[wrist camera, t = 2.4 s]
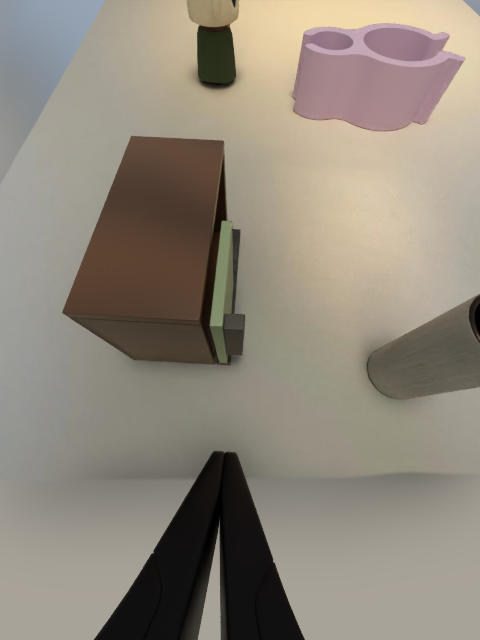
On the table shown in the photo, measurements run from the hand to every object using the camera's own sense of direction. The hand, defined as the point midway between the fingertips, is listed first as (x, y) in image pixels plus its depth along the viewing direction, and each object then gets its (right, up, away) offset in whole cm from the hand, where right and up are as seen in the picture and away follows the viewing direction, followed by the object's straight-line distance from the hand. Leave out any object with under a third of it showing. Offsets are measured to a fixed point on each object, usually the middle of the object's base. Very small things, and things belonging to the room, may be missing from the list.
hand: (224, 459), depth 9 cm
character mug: (-3, +45, +32) cm, 56 cm away
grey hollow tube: (+14, 0, +13) cm, 19 cm away
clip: (+19, +39, +30) cm, 52 cm away
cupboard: (-5, +8, +16) cm, 18 cm away
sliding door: (0, +5, +13) cm, 14 cm away
